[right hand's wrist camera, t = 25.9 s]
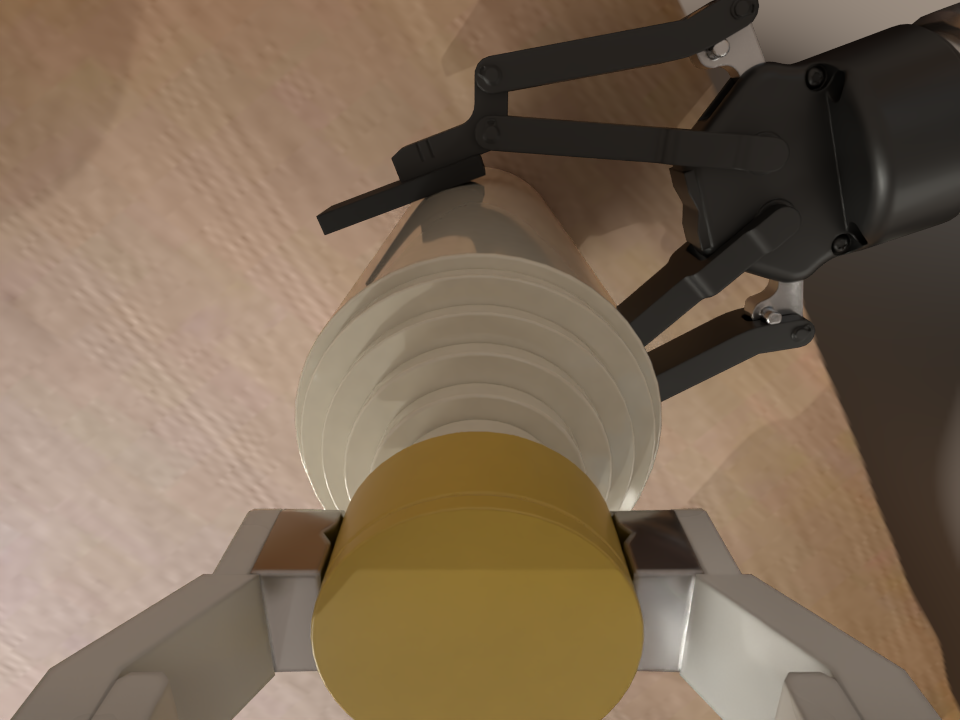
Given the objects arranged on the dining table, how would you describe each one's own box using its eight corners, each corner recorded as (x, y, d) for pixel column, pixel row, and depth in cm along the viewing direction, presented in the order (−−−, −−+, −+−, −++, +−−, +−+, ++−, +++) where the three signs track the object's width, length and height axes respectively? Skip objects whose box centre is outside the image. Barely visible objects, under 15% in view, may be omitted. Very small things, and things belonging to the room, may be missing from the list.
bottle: (456, 131, 30) (384, 212, 7) (590, 228, 32) (885, 551, 9) (369, 269, 32) (102, 663, 9) (497, 352, 34) (536, 858, 11)
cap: (634, 437, 10) (672, 518, 8) (594, 659, 11) (617, 769, 9) (338, 419, 9) (304, 497, 8) (342, 646, 11) (314, 755, 9)
